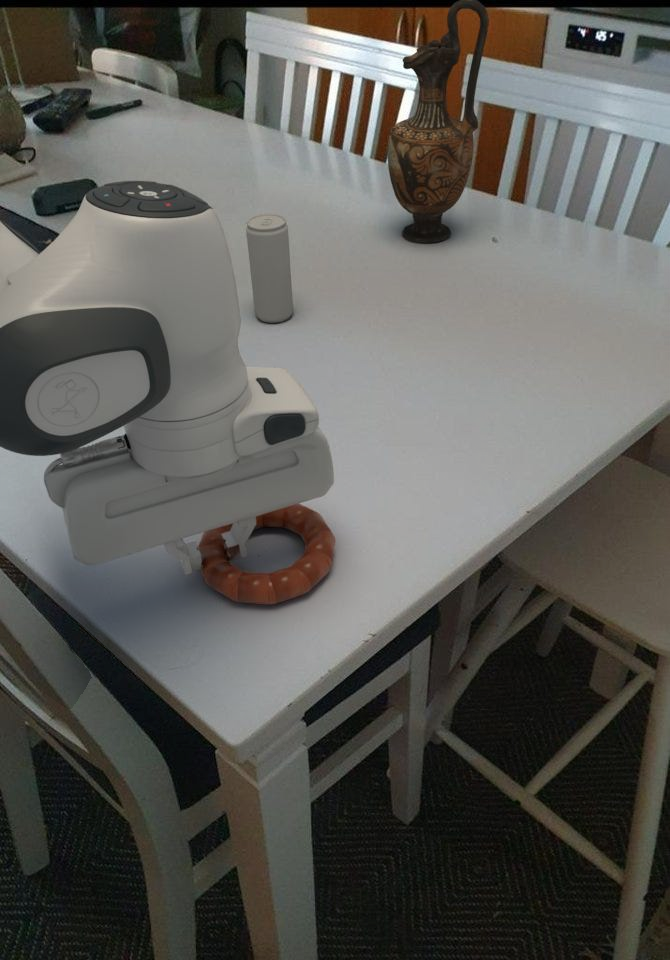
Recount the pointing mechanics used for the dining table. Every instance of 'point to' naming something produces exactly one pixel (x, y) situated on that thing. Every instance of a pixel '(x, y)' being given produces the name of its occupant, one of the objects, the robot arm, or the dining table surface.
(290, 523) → the ring
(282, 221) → the beverage can
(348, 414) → the dining table surface
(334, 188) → the dining table surface
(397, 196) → the vase
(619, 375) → the dining table surface
